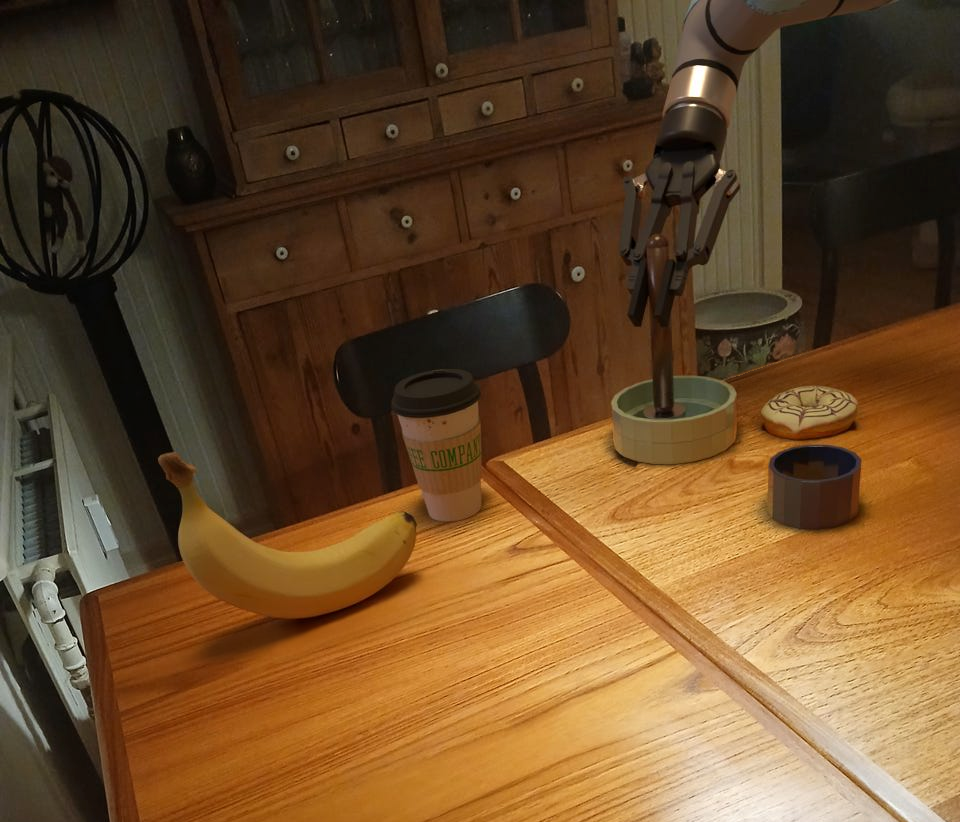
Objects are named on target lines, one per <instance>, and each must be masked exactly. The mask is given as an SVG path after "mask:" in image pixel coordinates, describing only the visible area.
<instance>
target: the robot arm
mask: <svg viewBox="0 0 960 822" xmlns="http://www.w3.org/2000/svg"><path fill="white" fill-rule="evenodd" d="M899 1H900V0H691V1H690V4H689V7H688V10H687V12H686V13H685V16H684V19H683V25H682V29H681V36H680V40H679V44H678V49H677V54H676V57H675V62H674V66H673V71H672V74H671V80H670V83H669V87H668V91H667V95H666V98H665V101H664V102H665V103H664V106H663V110H662V117H661V120H660V123H659V127H658V132H657V136H656V140H655V144H654V148H653V156H652V159H651V161H650V162H649V164H648V165H647V167H646V168H645V171H644V173H641V174H640V175H637V176H636V177H634V178H633V177H632V175H626V176H624V177H623V178H622V181H621V183H622V186H623V190H624V195H625V196H624V205H623V213H622V220H621V226H620V227H621V229H620V235H619V244H618V254H619V255H620V257H621V259H622V260H623V262H624V264H625V265H626V266H627V267H630V272H629V275H628V280H627V284H626V287H627V290H628V292H629V294H630V295H631V297H630V302H629V306H628V310H627V313H626V314H627V318H628V319H629V320H630V322H631V324H632V325H633V326H634V327H635V328H642V326H643V325H642V324H643V321H644V316H645V313H646V307H647V303H648V301H649V294H648V273H647V251H646V244H647V241H648V239H649V238H650V237H651V236H652V235H654V234H662V232H663V230H664V227H665V224H666V221H667V218H668V217H670V216H671V213H672V211H673V208H674V207H676V206H680V209H679V218H678V227H677V234H676V235H677V236H676V245H675V250H673V255H674V257H675V259H673V258H671V259H670V258H669V259H667V263H666V267H665V271H664V276H663V280H662V284H661V288H660V292H659V296H658V301H657V305H656V309H655V313H654V316H655V318H656V320H657V321H658V323H659V325H660V326H661V327H668V323H669V319H670V315H671V316H672V310H673V306H674V303H675V297H682V295H684V292H685V288H686V285H687V281H688V276H689V272H690V270H691V268H693V267H695V266H697V265H700V266H706V265H707V264H708V263H709V261H710V259H711V255H712V253H713V250H714V247H715V244H716V242H717V239H718V235H719V233H720V231H721V228H722V225H723V222H724V220H725V216H726V213H727V211H728V209H729V205H730V203H731V202H732V200H733V199H734V198H735V196H736V195H737V194H738V193H739V191H740V189H741V183H740V180H739V177H738V175H737V172H736V171H735V169H729V170H727V171H726V170H723V169H722V166H721V160H722V157H723V153H724V149H725V144H726V141H727V135H728V128H729V126H730V122H731V118H732V113H733V110H734V105H735V101H736V98H737V97H736V96H737V93H738V88H739V84H740V80H741V75H742V72H743V69H744V66H745V64H746V62H747V61H748V59H749V58H750V57H751V56H752V55H754V53H755V52H756V51H757V50H759V48H760V47H761V46H762V45H764V43H765V42H766V41H767V40H768V39H769V38H770V37H771V36H772V35H773V34H774V33H775V32H776V31H777V30H779V29H780V28H784V27H788V26H793V25H799V24H803V23H807V22H808V23H809V22H812V21H817V20H823V19H827V18H832V17H837V16H842V15H847V14H851V13H852V14H853V13H857V12H862V11H863V12H864V11H875V10H879V9H881V8H883V7H885V6H888V5H891V4H895V3H897V2H899ZM648 186H649V187H650V188H651V190H652V194H651V197H650V205H649V208H648V212H647V214H646V217H645V220H644V223H643V225H642V228H641V231H640V225H641V219H642V210H643V202H642V200H643V199H644V198H645V196H646V195H645V194H646V189H647V187H648ZM713 186H714V189H713V191H712V194H711V196H710V198H709V202H708V204H707V208H706V211H705V213H704V216H703V218H702V221H701V224H700V227H699V230H698V232H697V235H696V231H697V222H698V215H699V214H700V207H701V206H700V205H701V200H702V198H703V197H704V196H705V194H707V192H709V190H711V188H712V187H713Z"/></svg>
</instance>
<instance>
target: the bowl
mask: <svg viewBox="0 0 960 822" xmlns="http://www.w3.org/2000/svg"><path fill="white" fill-rule="evenodd" d="M673 383H674V403H678V404H681V405H683V406H684V407H685V408H686V418H679V419H671V420H654V419H646V418H643V411H644V409H645V408H647V407H649V406H651V405H654V401H653V380H652V378H651V379H647V380H643V381H639V382H637V383H634V384H632V385H629V386H627V387H625V388H623V389H621V390H620V391H619V392H617V393H616V394H614V396H613V398H612V399H611V401H610V409H611V411H610V412H611V422H612V423H611V425H612V436H613V437H612V439H613V445H614V449H615V450H616V451H617V452H618V454H620V455H621V456H622V457H624V458H626V459H629V460H632V461H635V462H638V463H639V462H640V463H646V464H651V465H677V464H678V465H680V464H687V463H693V462H697V461H701V460H705V459H709V458H713V457H714V456H716V455H719V454H720V453H723V452H725V451H727V450H728V449H729V448H730V447H731V446H732V445H733V444H734V443H735V441H736V438H737V435H738V433H737V432H738V393H737V391H736V389H735V387H734V386H733V385H732V384H730V383H728V382H726V381H725V380H722V379H717V378H714V377H711V376H704V375H703V376H702V375H673Z"/></svg>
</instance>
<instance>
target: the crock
mask: <svg viewBox="0 0 960 822" xmlns="http://www.w3.org/2000/svg"><path fill="white" fill-rule="evenodd" d="M862 462H863V460H862V458H861V457H860V456H859V454H857V453H856V452H855V451H853V450H850V449H847V448H845V447H842V446H837V445H831V444H803V445H797V446H791V447H788V448H785V449H784V450H780V451H778V452H777V453H776V454H774V455H773V456H771V457H770V459H769V462H768V468H767V469H768V470H767V511H766V512H767V514H768V515H769V517H770V518H771V519H772V521H774V522H776V523H778V524H780V525H782V526H784V527H787V528H792V529H796V530H805V531H806V530H808V531H809V530H810V531H820V530H821V531H822V530H827V529H828V530H829V529H833V528H838V527H840V526H843V525H846V524H847V523H850V522H851V521H852V520H853V519H855V517H856V516H858V511H859V501H860V500H859V499H860V486H861V485H860V484H861V476H862V475H861V473H862Z"/></svg>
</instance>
